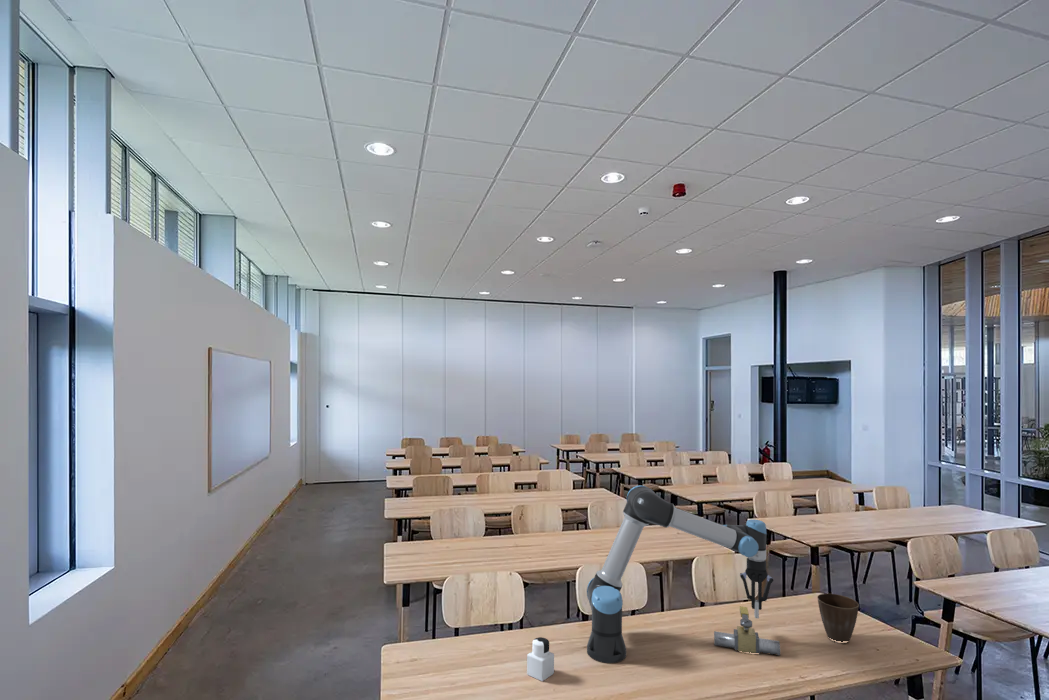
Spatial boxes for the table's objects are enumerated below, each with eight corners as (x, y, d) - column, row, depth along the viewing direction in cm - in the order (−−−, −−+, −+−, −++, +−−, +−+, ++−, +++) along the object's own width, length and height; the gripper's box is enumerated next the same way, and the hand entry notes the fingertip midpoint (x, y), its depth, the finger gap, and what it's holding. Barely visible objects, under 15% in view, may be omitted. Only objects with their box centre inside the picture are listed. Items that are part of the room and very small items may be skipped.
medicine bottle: (538, 666, 200) (539, 633, 201) (554, 673, 196) (554, 639, 196) (526, 674, 195) (527, 640, 195) (542, 682, 190) (542, 646, 191)
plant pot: (859, 652, 215) (858, 611, 216) (816, 642, 223) (816, 602, 224) (859, 637, 228) (858, 598, 229) (818, 628, 236) (818, 590, 236)
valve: (714, 648, 216) (714, 624, 217) (714, 640, 223) (714, 617, 223) (780, 659, 209) (780, 634, 209) (778, 650, 215) (778, 627, 216)
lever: (752, 628, 213) (752, 624, 214) (740, 626, 215) (740, 622, 215) (749, 611, 229) (749, 607, 229) (737, 609, 231) (737, 606, 231)
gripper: (740, 559, 224) (740, 618, 223) (774, 563, 220) (775, 623, 219) (738, 554, 231) (739, 610, 230) (772, 557, 227) (772, 615, 226)
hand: (756, 616), depth 224 cm, fingers closed
